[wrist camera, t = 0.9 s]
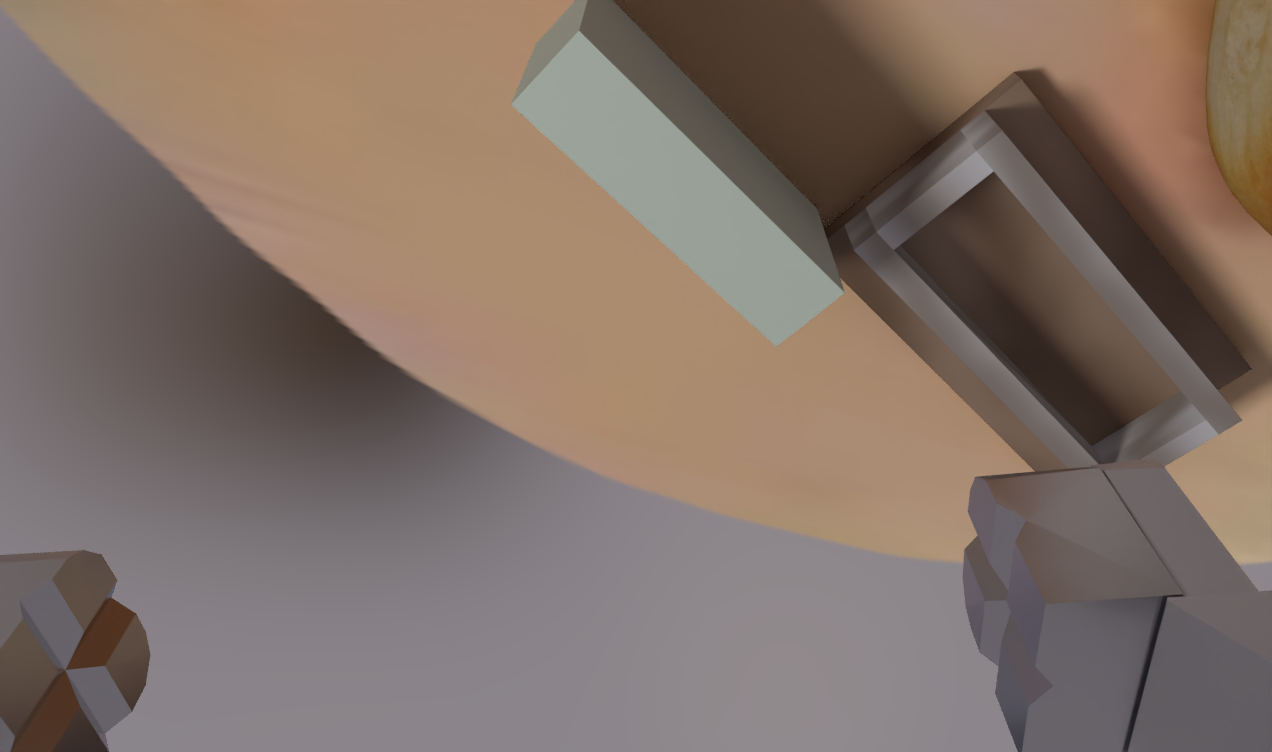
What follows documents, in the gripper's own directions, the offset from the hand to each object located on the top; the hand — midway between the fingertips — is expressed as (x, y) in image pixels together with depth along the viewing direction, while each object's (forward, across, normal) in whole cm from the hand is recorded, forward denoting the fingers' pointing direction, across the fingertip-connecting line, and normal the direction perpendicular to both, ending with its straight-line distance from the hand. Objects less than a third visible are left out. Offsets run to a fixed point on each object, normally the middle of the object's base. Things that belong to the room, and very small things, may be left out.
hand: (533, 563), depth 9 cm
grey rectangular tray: (+34, -18, +17) cm, 42 cm away
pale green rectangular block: (+34, -2, +7) cm, 35 cm away
